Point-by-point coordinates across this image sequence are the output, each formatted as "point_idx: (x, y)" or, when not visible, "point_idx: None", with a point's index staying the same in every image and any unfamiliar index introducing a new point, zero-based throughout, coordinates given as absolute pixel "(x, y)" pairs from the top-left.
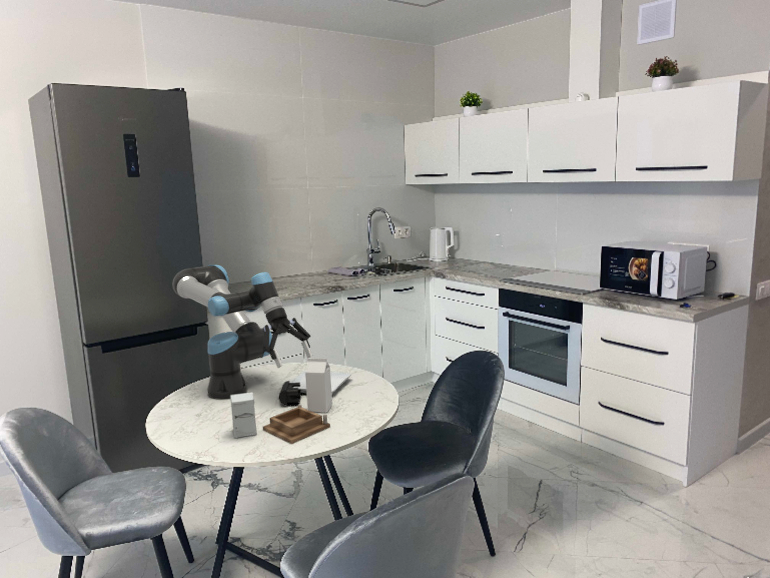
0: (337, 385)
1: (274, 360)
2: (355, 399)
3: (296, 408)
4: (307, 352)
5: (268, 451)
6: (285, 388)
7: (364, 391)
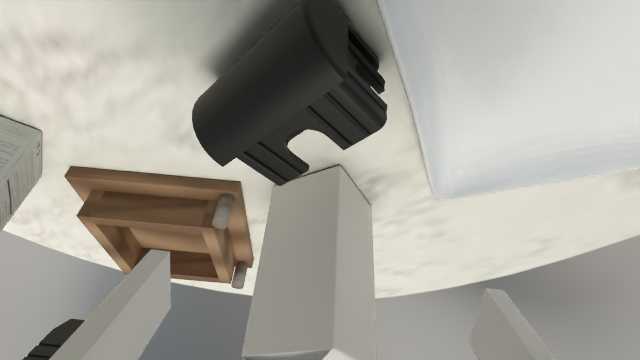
0: (586, 134)
1: (104, 300)
2: (454, 228)
3: (196, 230)
4: (496, 358)
5: (64, 236)
6: (231, 152)
7: (544, 217)
